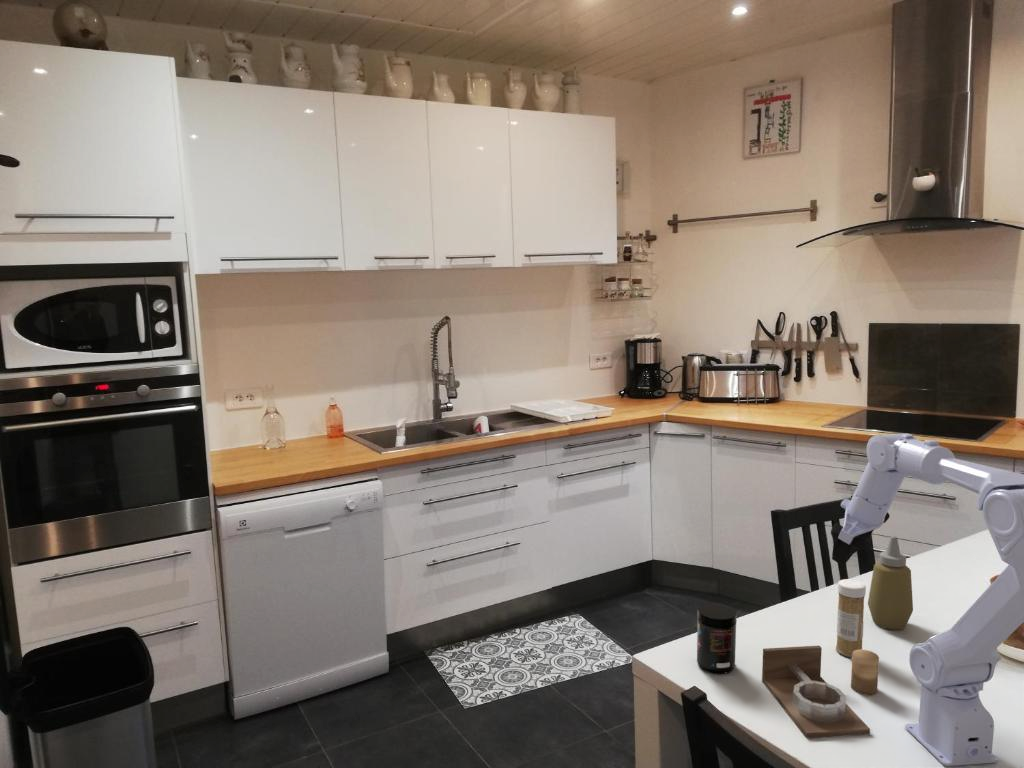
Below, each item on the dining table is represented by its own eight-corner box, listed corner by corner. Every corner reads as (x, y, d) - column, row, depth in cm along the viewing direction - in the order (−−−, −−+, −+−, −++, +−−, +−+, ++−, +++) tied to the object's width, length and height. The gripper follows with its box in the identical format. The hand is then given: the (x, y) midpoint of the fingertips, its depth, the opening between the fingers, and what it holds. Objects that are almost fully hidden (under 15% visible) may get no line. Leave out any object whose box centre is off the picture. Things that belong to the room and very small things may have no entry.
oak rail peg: (882, 694, 121) (884, 660, 121) (859, 696, 121) (860, 662, 120) (868, 681, 125) (870, 648, 124) (846, 683, 125) (847, 650, 124)
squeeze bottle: (921, 628, 144) (927, 540, 142) (891, 636, 141) (896, 547, 139) (887, 612, 151) (891, 528, 149) (857, 619, 148) (861, 533, 146)
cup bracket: (869, 733, 111) (871, 696, 110) (806, 738, 110) (807, 700, 109) (817, 678, 127) (819, 645, 126) (761, 681, 126) (763, 648, 125)
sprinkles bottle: (867, 653, 135) (871, 584, 133) (853, 661, 132) (856, 590, 130) (844, 644, 138) (847, 576, 137) (830, 650, 136) (833, 581, 134)
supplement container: (722, 653, 135) (723, 600, 134) (742, 672, 129) (744, 616, 128) (689, 659, 134) (690, 605, 132) (708, 678, 127) (709, 621, 126)
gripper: (869, 463, 129) (843, 519, 136) (832, 500, 120) (807, 557, 127) (909, 484, 125) (881, 540, 132) (874, 524, 116) (846, 581, 123)
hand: (847, 550), depth 130 cm, fingers open, 7 cm apart
